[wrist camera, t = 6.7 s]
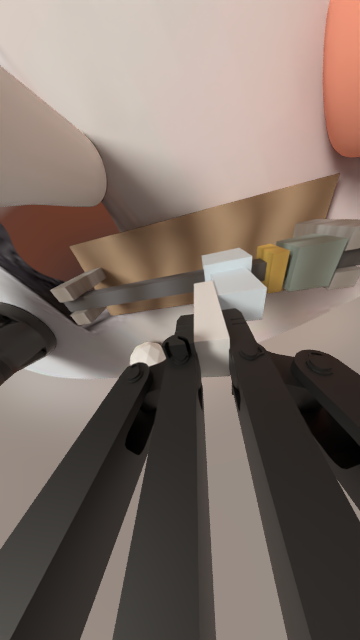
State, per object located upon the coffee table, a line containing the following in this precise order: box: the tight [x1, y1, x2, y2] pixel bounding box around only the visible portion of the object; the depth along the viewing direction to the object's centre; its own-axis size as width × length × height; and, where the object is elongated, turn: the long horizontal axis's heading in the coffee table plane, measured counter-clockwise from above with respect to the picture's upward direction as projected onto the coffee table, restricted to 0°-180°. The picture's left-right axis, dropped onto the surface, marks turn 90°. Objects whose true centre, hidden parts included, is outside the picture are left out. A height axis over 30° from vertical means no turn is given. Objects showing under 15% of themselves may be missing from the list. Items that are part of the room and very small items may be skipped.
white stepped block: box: [202, 248, 267, 321], centre depth 13 cm, size 4×4×8 cm
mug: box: [0, 66, 107, 207], centre depth 11 cm, size 10×7×12 cm, turn 117°
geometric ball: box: [130, 342, 166, 366], centre depth 30 cm, size 8×8×8 cm
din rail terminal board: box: [50, 173, 360, 325], centre depth 17 cm, size 32×12×9 cm, turn 102°
